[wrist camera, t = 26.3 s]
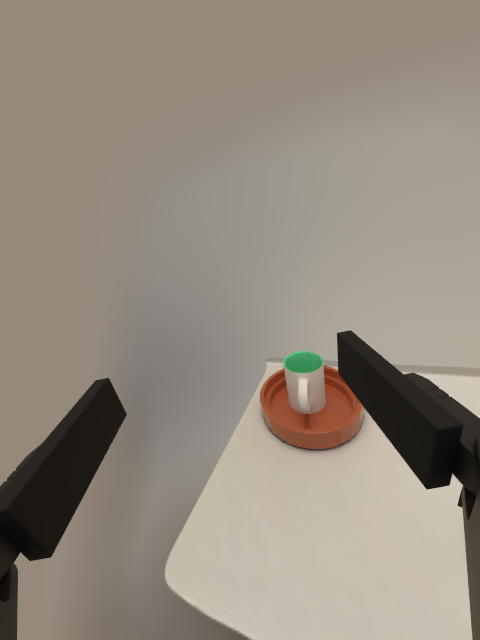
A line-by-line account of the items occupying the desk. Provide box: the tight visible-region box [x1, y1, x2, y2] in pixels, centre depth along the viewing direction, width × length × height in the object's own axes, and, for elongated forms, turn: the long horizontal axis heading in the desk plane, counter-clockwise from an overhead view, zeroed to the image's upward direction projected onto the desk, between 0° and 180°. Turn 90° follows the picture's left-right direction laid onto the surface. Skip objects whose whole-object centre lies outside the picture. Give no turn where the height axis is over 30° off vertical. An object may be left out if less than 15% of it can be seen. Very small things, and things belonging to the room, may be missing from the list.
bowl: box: [260, 366, 363, 449], centre depth 50 cm, size 21×21×4 cm
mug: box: [284, 351, 326, 414], centre depth 49 cm, size 12×8×10 cm, turn 168°
